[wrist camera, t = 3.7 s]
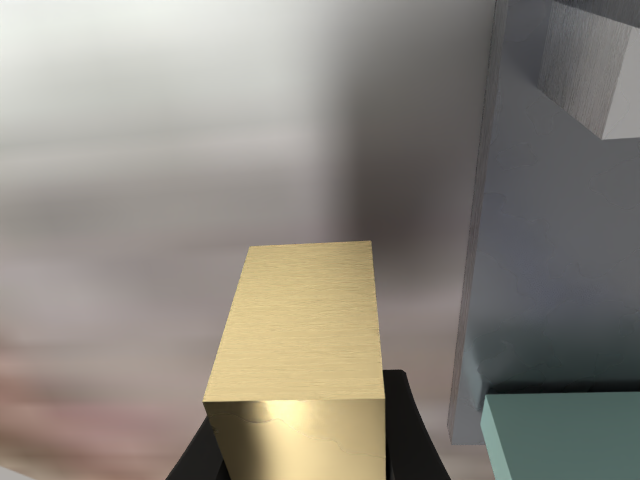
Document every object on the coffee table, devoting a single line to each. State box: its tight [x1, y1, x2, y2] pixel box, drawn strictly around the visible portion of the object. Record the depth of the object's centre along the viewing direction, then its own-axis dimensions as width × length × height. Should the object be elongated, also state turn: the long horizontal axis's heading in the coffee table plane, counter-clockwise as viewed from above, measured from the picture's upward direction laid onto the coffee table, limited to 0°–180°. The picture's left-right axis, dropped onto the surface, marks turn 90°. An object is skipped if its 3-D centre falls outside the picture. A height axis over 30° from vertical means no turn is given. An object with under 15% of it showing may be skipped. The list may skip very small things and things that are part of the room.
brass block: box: [202, 241, 386, 480], centre depth 11 cm, size 3×7×4 cm, turn 5°
